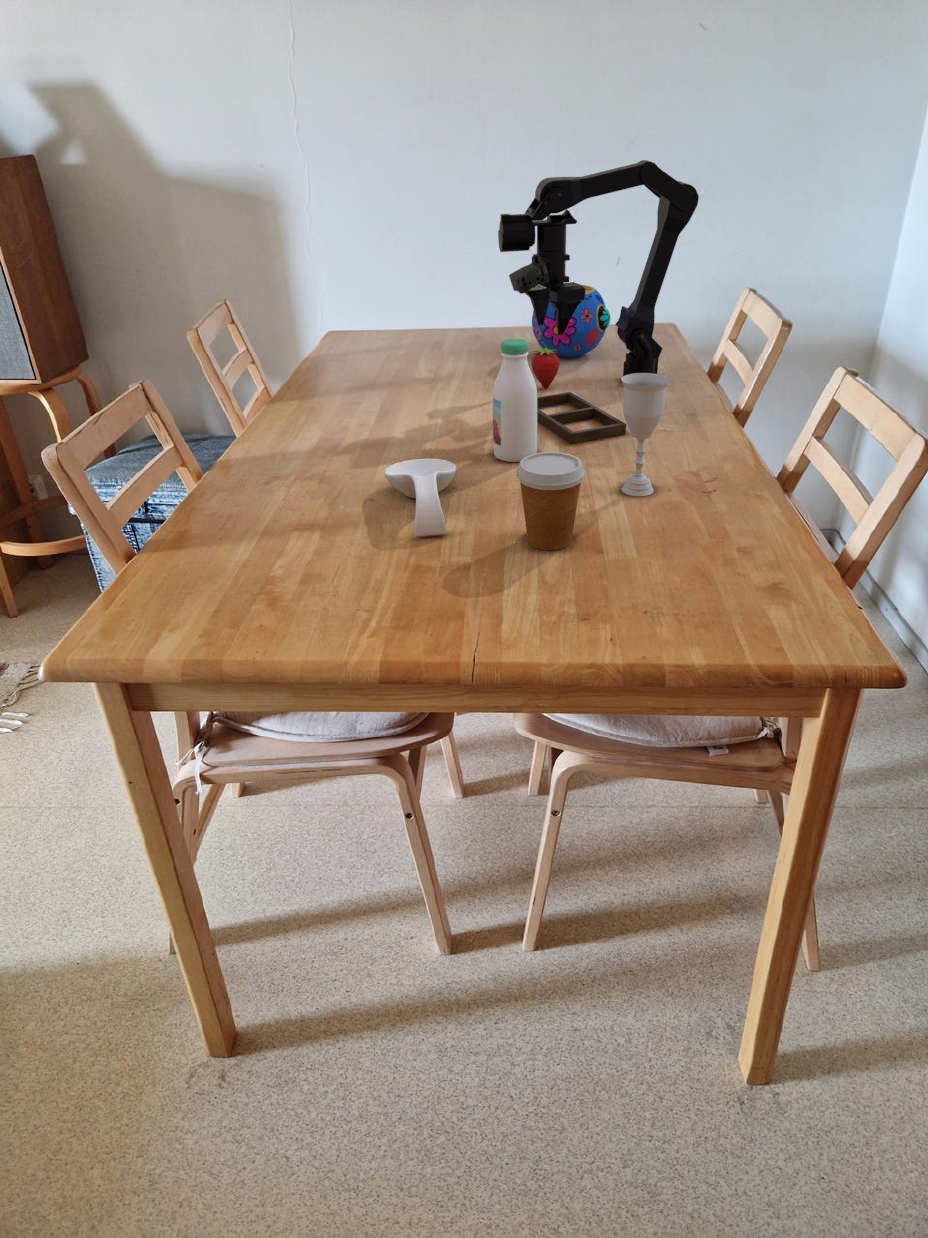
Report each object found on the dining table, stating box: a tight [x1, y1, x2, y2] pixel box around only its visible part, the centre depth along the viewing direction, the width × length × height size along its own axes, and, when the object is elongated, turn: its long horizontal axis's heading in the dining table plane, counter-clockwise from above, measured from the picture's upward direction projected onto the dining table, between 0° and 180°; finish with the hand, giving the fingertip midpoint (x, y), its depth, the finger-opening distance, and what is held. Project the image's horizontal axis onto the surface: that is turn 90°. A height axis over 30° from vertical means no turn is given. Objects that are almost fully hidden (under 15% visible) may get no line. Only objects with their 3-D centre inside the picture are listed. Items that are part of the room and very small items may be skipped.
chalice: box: [620, 373, 671, 497], centre depth 140 cm, size 7×7×18 cm
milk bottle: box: [492, 338, 538, 463], centre depth 154 cm, size 8×8×20 cm
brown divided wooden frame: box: [537, 391, 627, 445], centre depth 173 cm, size 11×22×2 cm, turn 22°
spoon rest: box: [383, 458, 457, 537], centre depth 140 cm, size 24×12×7 cm, turn 8°
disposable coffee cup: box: [516, 451, 586, 551], centre depth 127 cm, size 10×10×12 cm
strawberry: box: [531, 342, 560, 390], centre depth 189 cm, size 6×8×10 cm
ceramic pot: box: [531, 284, 611, 358], centre depth 210 cm, size 18×18×15 cm
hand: (550, 329), depth 185 cm, fingers open, 9 cm apart
